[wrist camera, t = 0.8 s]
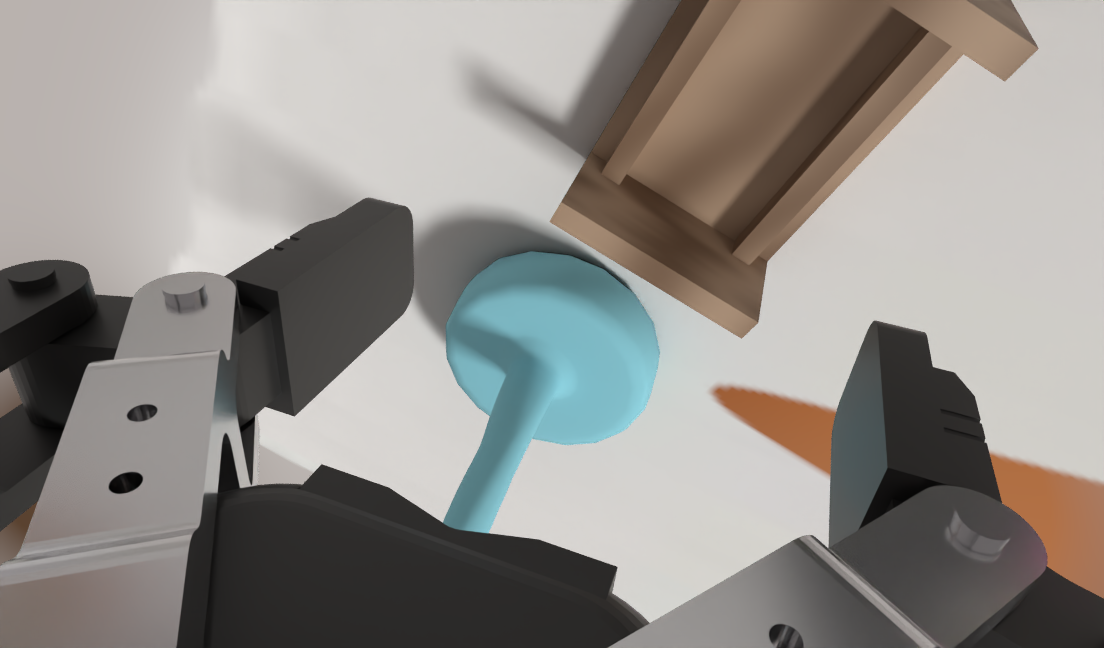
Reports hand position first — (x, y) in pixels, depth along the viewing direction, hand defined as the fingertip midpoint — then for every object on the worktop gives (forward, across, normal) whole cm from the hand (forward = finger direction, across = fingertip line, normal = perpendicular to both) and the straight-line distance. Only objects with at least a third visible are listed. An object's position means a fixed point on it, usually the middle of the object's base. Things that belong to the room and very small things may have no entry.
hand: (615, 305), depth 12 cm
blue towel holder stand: (+25, +8, +17) cm, 31 cm away
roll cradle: (+22, -1, +1) cm, 22 cm away
